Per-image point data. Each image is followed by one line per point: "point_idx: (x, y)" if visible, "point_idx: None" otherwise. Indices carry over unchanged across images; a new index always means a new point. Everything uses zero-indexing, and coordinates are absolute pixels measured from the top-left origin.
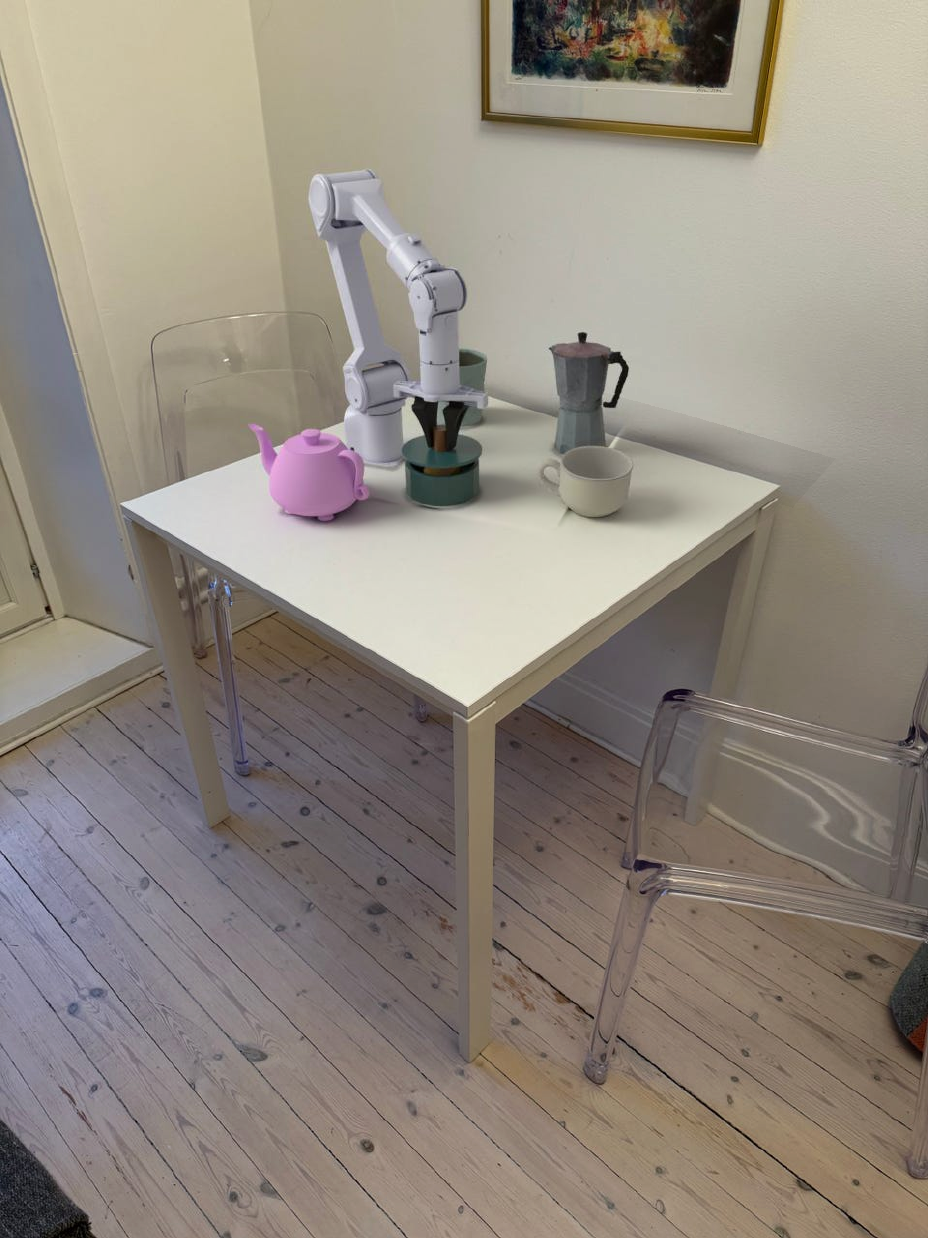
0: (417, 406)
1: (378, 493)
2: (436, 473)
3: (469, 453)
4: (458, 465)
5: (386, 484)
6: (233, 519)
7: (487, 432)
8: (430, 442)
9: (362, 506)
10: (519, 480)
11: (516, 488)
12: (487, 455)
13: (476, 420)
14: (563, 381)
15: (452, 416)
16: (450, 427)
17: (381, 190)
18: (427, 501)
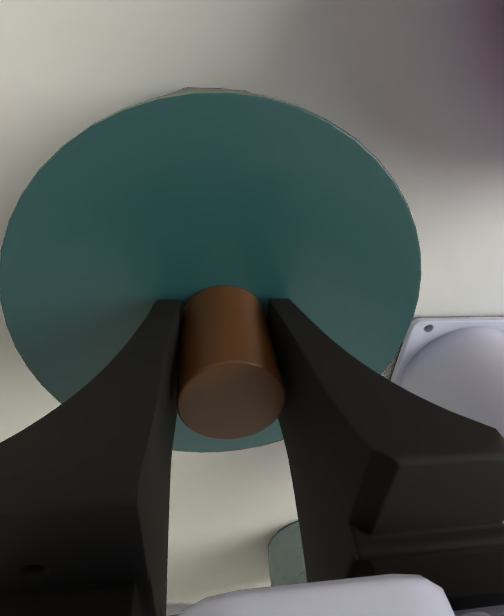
0: (463, 480)
1: (431, 149)
2: None
3: (62, 317)
4: (39, 170)
5: (415, 223)
6: None
7: (237, 527)
8: (277, 308)
9: (478, 12)
10: (31, 375)
11: (6, 331)
12: (189, 454)
13: (272, 551)
14: None
15: (28, 451)
16: (117, 381)
17: None
18: (220, 90)
